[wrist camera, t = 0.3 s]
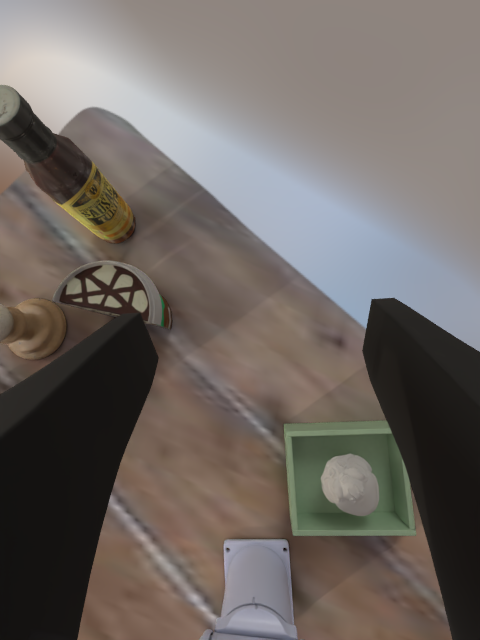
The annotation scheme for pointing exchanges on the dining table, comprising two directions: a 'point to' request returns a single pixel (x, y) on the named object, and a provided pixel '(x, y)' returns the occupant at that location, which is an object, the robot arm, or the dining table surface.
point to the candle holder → (32, 328)
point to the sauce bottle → (63, 171)
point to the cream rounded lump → (351, 484)
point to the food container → (114, 292)
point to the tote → (308, 466)
